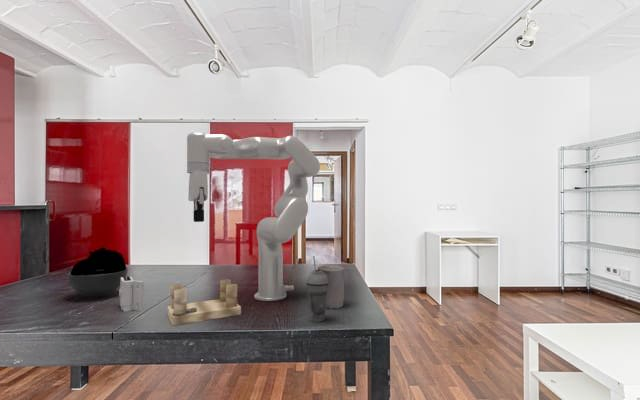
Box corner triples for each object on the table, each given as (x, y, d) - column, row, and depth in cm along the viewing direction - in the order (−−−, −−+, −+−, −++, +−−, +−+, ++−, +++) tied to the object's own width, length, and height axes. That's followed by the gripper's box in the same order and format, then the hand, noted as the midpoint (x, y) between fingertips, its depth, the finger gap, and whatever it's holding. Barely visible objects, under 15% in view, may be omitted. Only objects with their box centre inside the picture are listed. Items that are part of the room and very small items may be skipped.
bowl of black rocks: (106, 303, 122) (107, 252, 122) (53, 303, 122) (54, 252, 123) (137, 290, 142) (138, 246, 142) (91, 289, 142) (92, 246, 143)
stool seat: (230, 304, 121) (230, 278, 121) (240, 314, 110) (241, 285, 110) (167, 313, 110) (167, 285, 110) (172, 325, 99) (172, 293, 99)
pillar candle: (311, 305, 120) (312, 264, 120) (329, 299, 127) (329, 260, 127) (331, 311, 113) (332, 267, 114) (349, 305, 121) (349, 264, 121)
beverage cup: (326, 324, 100) (326, 258, 101) (303, 322, 102) (303, 257, 102) (330, 316, 108) (330, 255, 108) (308, 315, 109) (309, 254, 110)
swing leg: (195, 309, 106) (195, 286, 107) (198, 311, 103) (198, 289, 104) (172, 312, 102) (173, 289, 103) (175, 315, 100) (175, 292, 100)
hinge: (143, 310, 114) (144, 281, 114) (126, 314, 110) (126, 284, 110) (129, 302, 123) (130, 275, 123) (113, 305, 119) (113, 277, 119)
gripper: (183, 170, 119) (183, 221, 119) (191, 166, 107) (191, 222, 106) (205, 171, 123) (205, 220, 123) (214, 167, 110) (215, 222, 110)
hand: (198, 221), depth 115 cm, fingers closed
